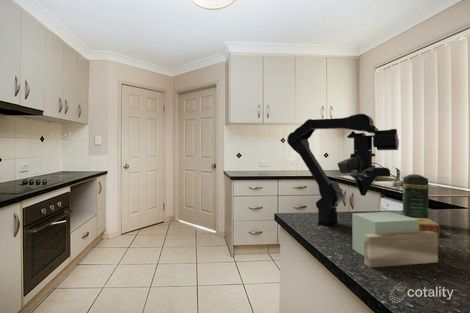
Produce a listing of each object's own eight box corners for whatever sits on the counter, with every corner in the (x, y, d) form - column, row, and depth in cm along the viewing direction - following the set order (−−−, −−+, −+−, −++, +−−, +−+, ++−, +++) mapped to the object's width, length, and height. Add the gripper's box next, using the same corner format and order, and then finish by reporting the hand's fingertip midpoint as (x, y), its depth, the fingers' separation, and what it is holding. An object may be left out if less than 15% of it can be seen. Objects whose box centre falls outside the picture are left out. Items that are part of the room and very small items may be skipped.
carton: (440, 237, 79) (440, 224, 79) (382, 232, 84) (382, 220, 84) (429, 230, 86) (429, 217, 86) (377, 226, 92) (377, 214, 92)
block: (352, 249, 69) (352, 213, 68) (391, 246, 70) (391, 211, 70) (375, 263, 60) (375, 222, 60) (419, 260, 61) (419, 220, 61)
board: (364, 263, 59) (364, 234, 59) (430, 258, 62) (430, 230, 62) (370, 267, 57) (370, 237, 57) (437, 262, 60) (437, 233, 60)
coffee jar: (430, 227, 88) (429, 175, 88) (403, 224, 93) (403, 174, 93) (426, 221, 97) (426, 174, 96) (402, 218, 101) (402, 173, 101)
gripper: (327, 151, 94) (327, 192, 94) (358, 150, 75) (358, 201, 75) (354, 151, 95) (354, 191, 95) (391, 150, 77) (391, 200, 77)
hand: (363, 195), depth 86 cm, fingers closed
